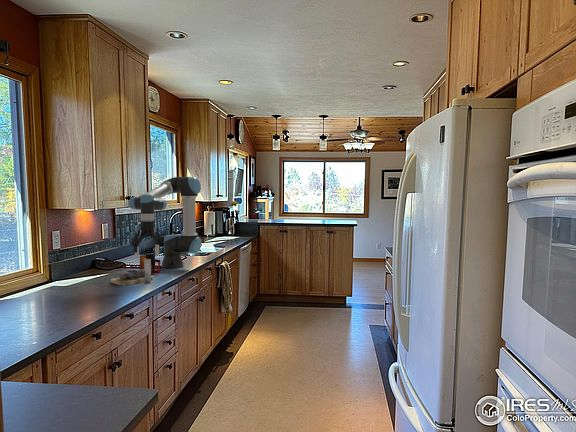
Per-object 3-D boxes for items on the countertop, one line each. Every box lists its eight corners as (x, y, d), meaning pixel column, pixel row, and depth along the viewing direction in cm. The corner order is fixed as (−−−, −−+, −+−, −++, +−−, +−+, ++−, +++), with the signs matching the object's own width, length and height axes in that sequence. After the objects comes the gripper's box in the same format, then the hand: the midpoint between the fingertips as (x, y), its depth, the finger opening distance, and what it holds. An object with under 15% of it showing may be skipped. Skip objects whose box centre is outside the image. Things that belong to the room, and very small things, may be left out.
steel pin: (148, 282, 230) (148, 258, 229) (152, 283, 228) (152, 259, 227) (143, 283, 227) (143, 259, 226) (146, 284, 225) (146, 260, 224)
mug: (160, 275, 249) (160, 256, 249) (138, 275, 248) (137, 256, 247) (163, 272, 259) (163, 254, 258) (141, 272, 257) (141, 254, 256)
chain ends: (139, 276, 243) (139, 267, 243) (152, 280, 235) (152, 270, 235) (110, 282, 227) (110, 272, 227) (124, 286, 219) (124, 275, 219)
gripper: (161, 219, 237) (161, 253, 239) (124, 221, 217) (124, 258, 218) (169, 220, 233) (168, 254, 234) (131, 222, 213) (131, 260, 214)
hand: (147, 256), depth 226 cm, fingers open, 13 cm apart
